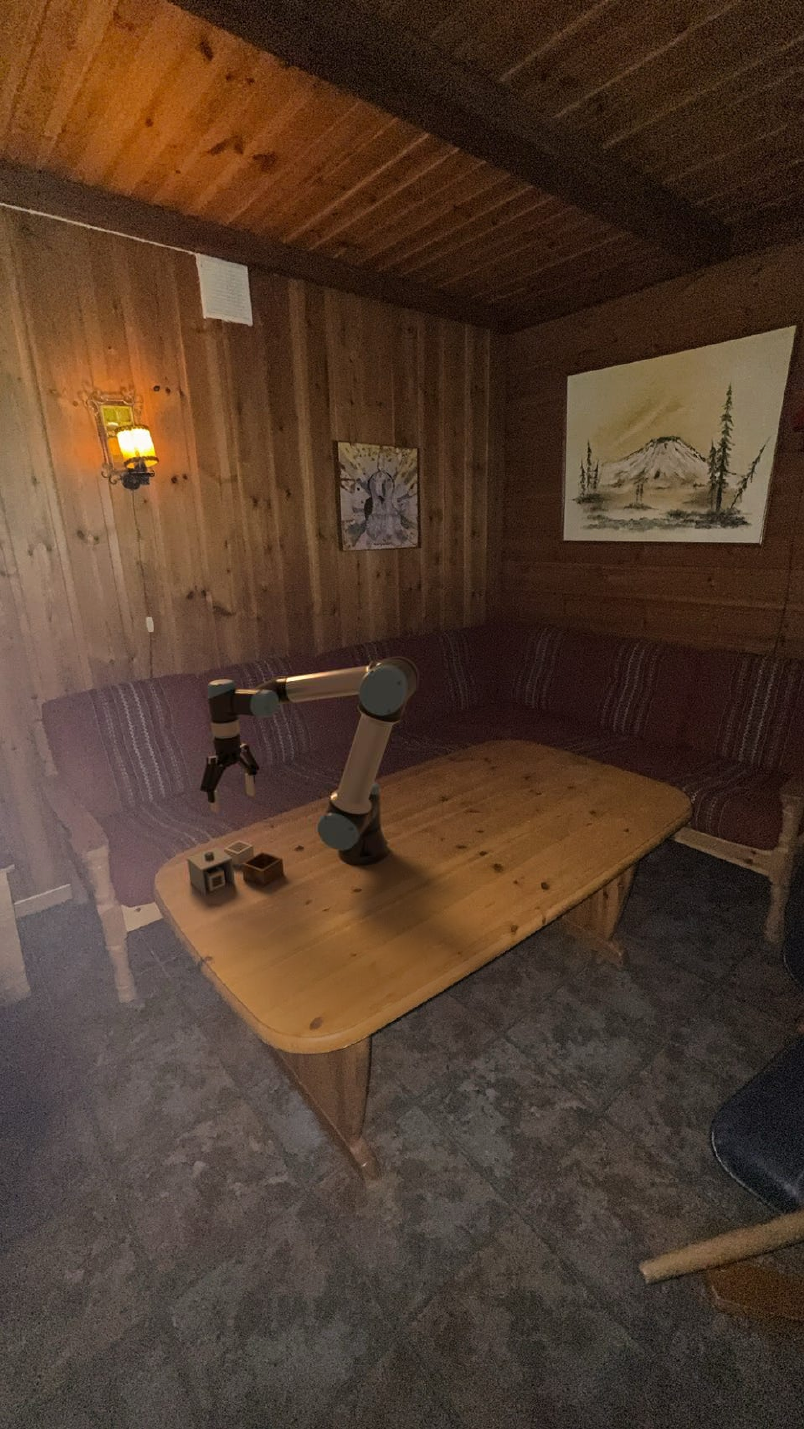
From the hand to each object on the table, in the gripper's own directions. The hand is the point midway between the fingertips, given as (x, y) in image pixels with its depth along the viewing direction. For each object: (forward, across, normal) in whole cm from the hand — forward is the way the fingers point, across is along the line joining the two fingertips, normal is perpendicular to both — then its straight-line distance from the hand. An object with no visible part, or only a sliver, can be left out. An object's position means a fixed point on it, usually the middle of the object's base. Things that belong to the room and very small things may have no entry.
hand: (233, 803), depth 182 cm
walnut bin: (+19, +3, +13) cm, 23 cm away
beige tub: (+19, 0, 0) cm, 19 cm away
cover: (+19, +13, +3) cm, 23 cm away
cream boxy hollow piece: (+19, +13, +4) cm, 23 cm away
